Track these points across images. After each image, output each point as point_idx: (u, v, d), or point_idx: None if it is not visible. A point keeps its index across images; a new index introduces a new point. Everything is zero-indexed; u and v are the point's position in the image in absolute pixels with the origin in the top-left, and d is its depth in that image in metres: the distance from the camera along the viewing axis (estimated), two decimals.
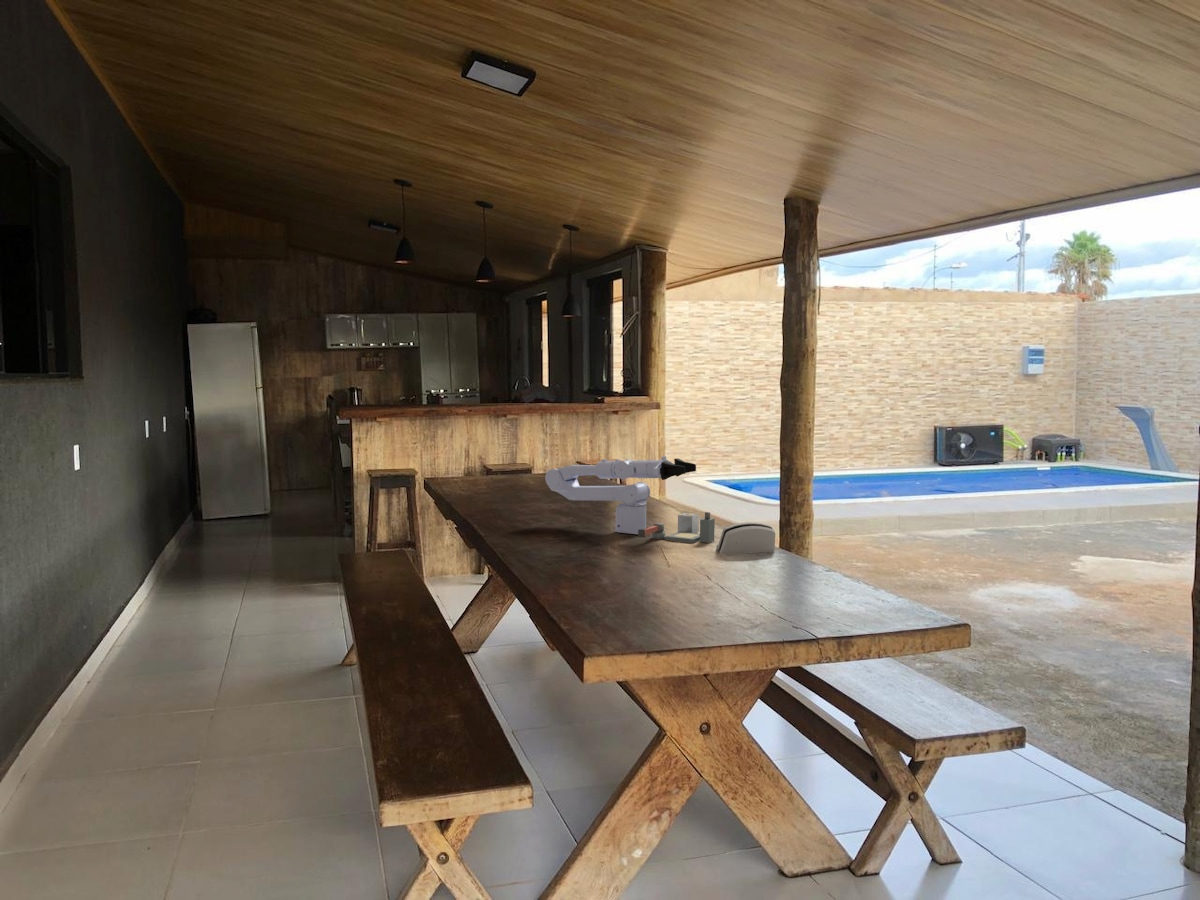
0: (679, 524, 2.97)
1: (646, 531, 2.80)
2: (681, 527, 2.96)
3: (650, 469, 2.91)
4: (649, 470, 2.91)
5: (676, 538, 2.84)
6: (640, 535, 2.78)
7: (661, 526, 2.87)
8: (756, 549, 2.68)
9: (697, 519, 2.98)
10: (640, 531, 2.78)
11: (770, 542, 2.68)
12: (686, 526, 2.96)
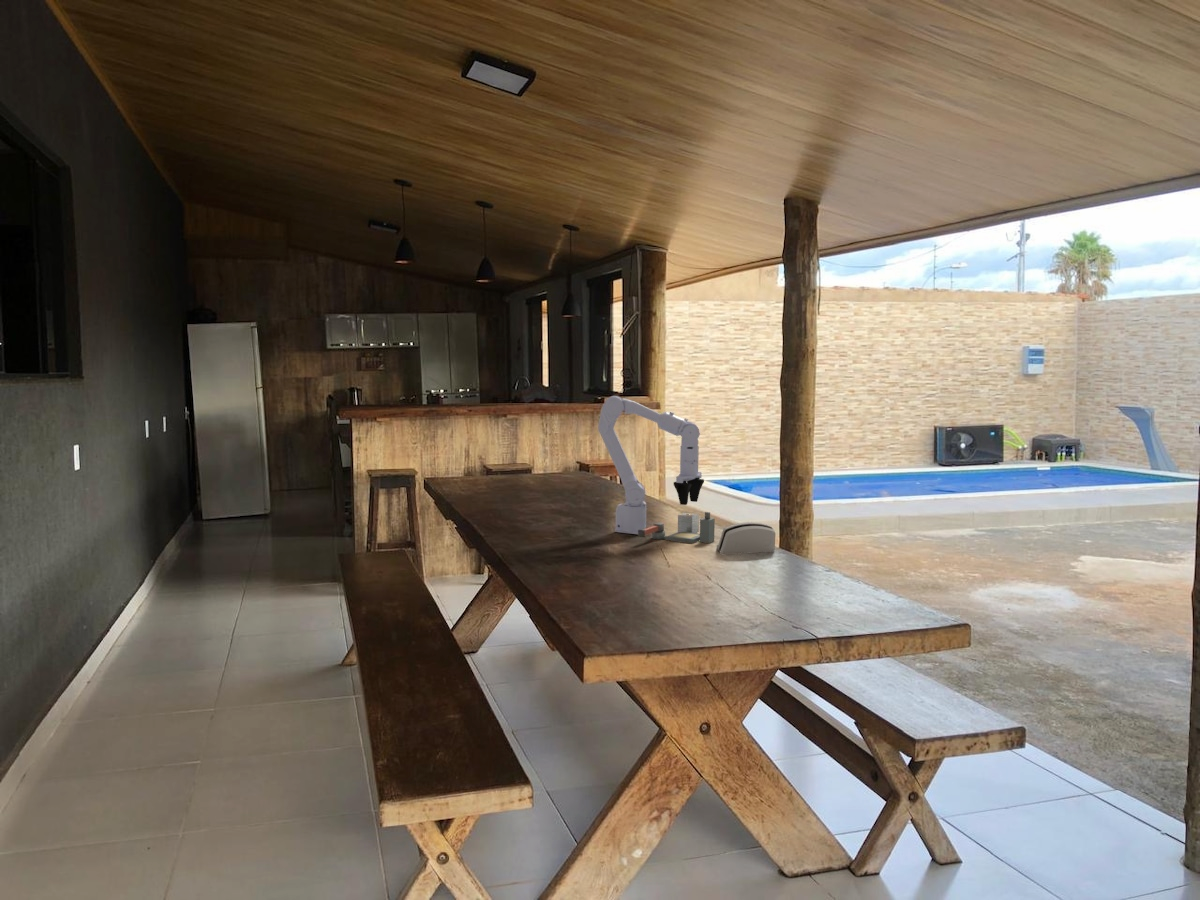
0: (679, 524, 2.97)
1: (646, 531, 2.80)
2: (681, 527, 2.96)
3: (686, 465, 2.94)
4: (685, 464, 2.94)
5: (676, 538, 2.84)
6: (640, 535, 2.78)
7: (661, 526, 2.87)
8: (756, 549, 2.68)
9: (697, 519, 2.98)
10: (640, 531, 2.78)
11: (770, 542, 2.68)
12: (686, 526, 2.96)
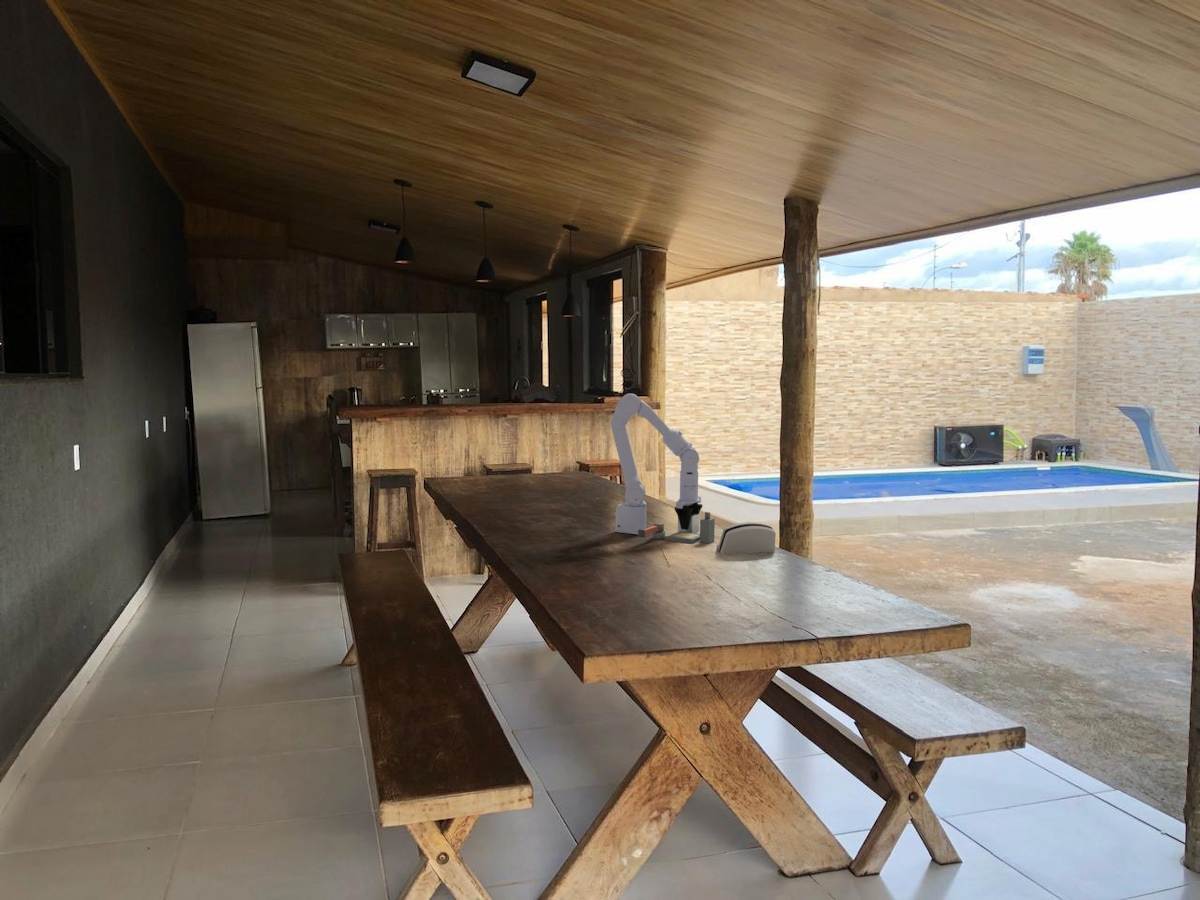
0: (679, 523, 2.97)
1: (646, 531, 2.80)
2: None
3: (685, 490, 2.94)
4: (684, 489, 2.94)
5: (676, 538, 2.84)
6: (640, 535, 2.78)
7: (661, 526, 2.87)
8: (756, 549, 2.68)
9: (697, 519, 2.98)
10: (640, 531, 2.78)
11: (770, 542, 2.68)
12: None
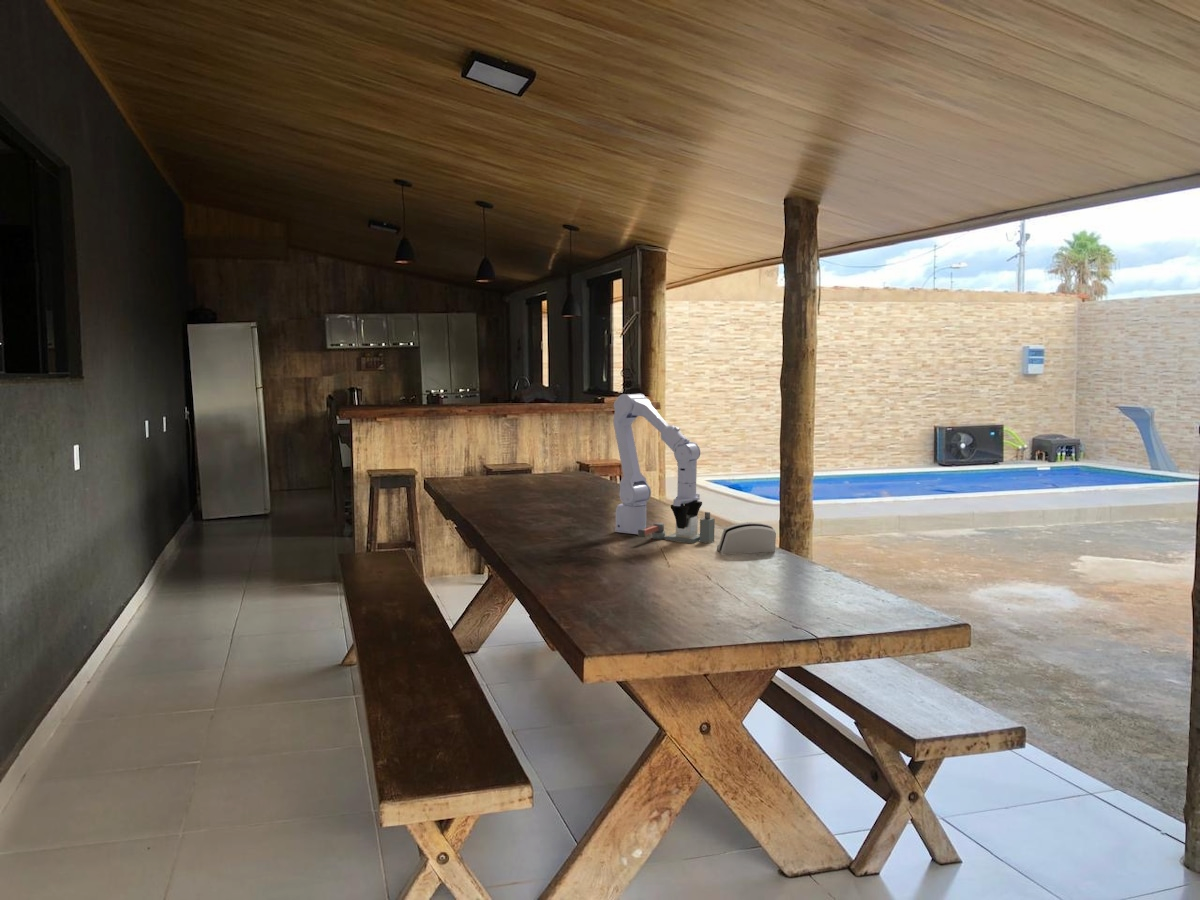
0: None
1: (646, 531, 2.80)
2: (680, 529, 2.86)
3: (683, 487, 2.84)
4: (682, 486, 2.84)
5: (676, 538, 2.84)
6: (640, 535, 2.78)
7: (661, 526, 2.87)
8: (756, 549, 2.68)
9: (696, 521, 2.87)
10: (640, 531, 2.78)
11: (771, 542, 2.68)
12: (684, 528, 2.85)
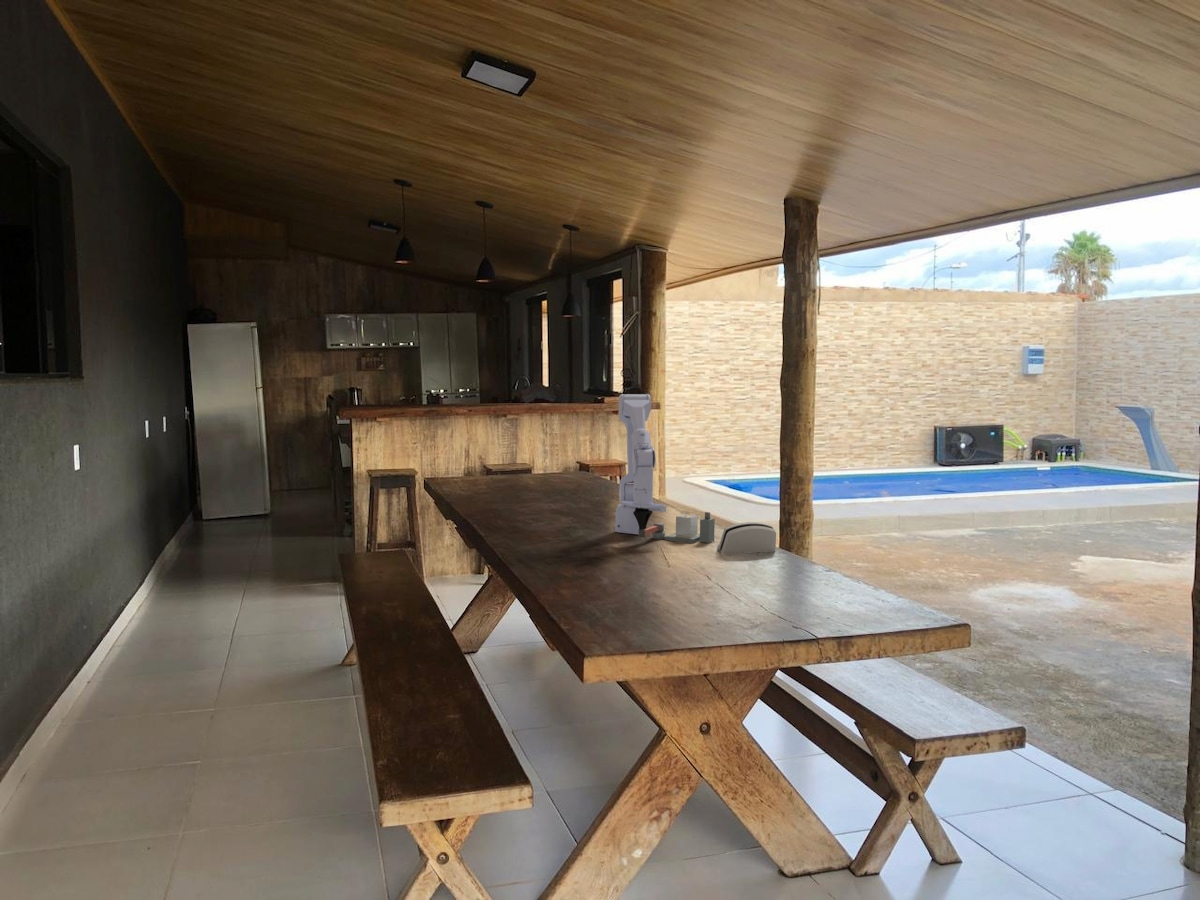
0: (677, 526, 2.86)
1: (646, 531, 2.80)
2: (680, 529, 2.86)
3: None
4: None
5: (676, 538, 2.84)
6: (641, 535, 2.78)
7: (661, 526, 2.87)
8: (757, 549, 2.68)
9: (696, 521, 2.87)
10: (641, 531, 2.78)
11: (771, 542, 2.69)
12: (684, 528, 2.85)
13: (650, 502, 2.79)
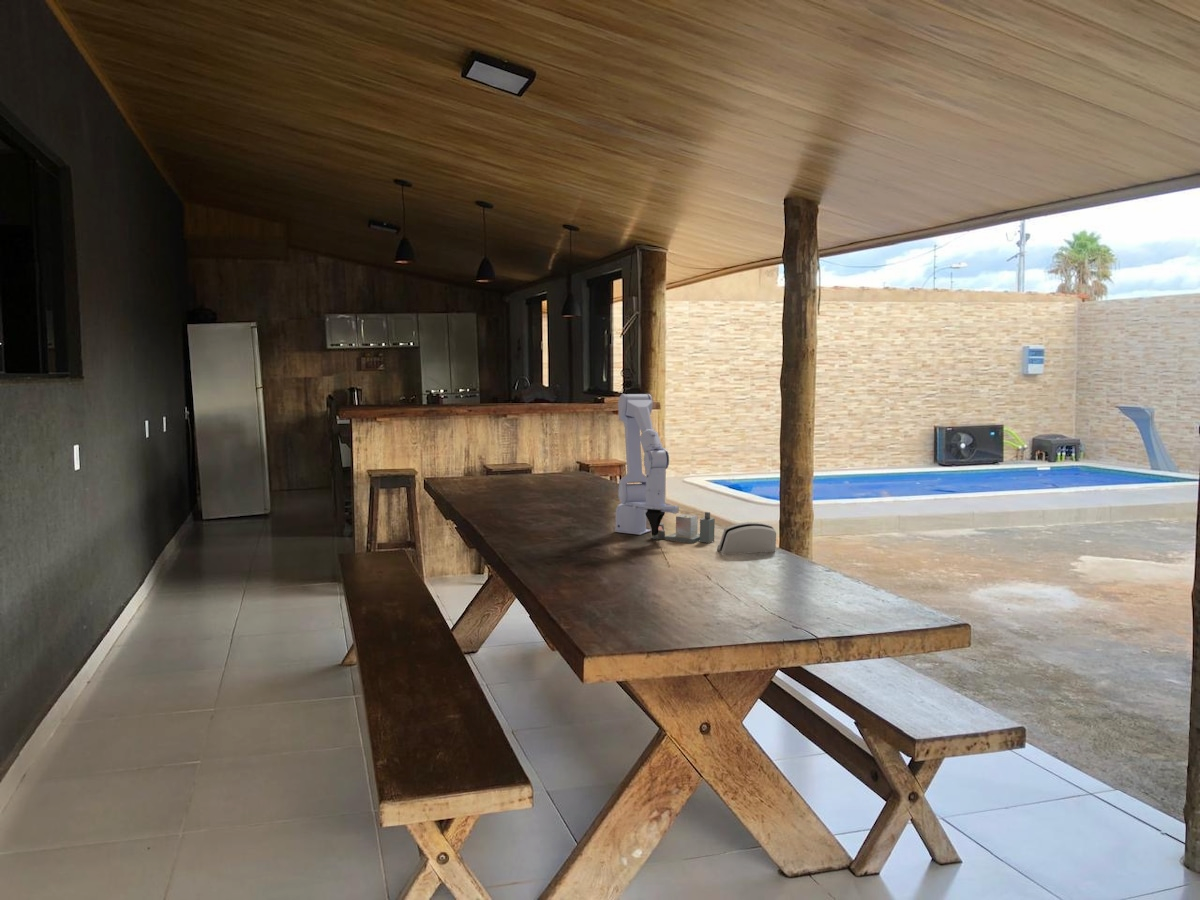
0: (677, 526, 2.86)
1: None
2: (680, 529, 2.86)
3: None
4: None
5: (676, 538, 2.84)
6: (662, 536, 2.77)
7: (663, 526, 2.88)
8: (757, 549, 2.68)
9: (696, 521, 2.87)
10: (662, 532, 2.77)
11: (771, 542, 2.69)
12: (684, 528, 2.85)
13: (662, 503, 2.78)
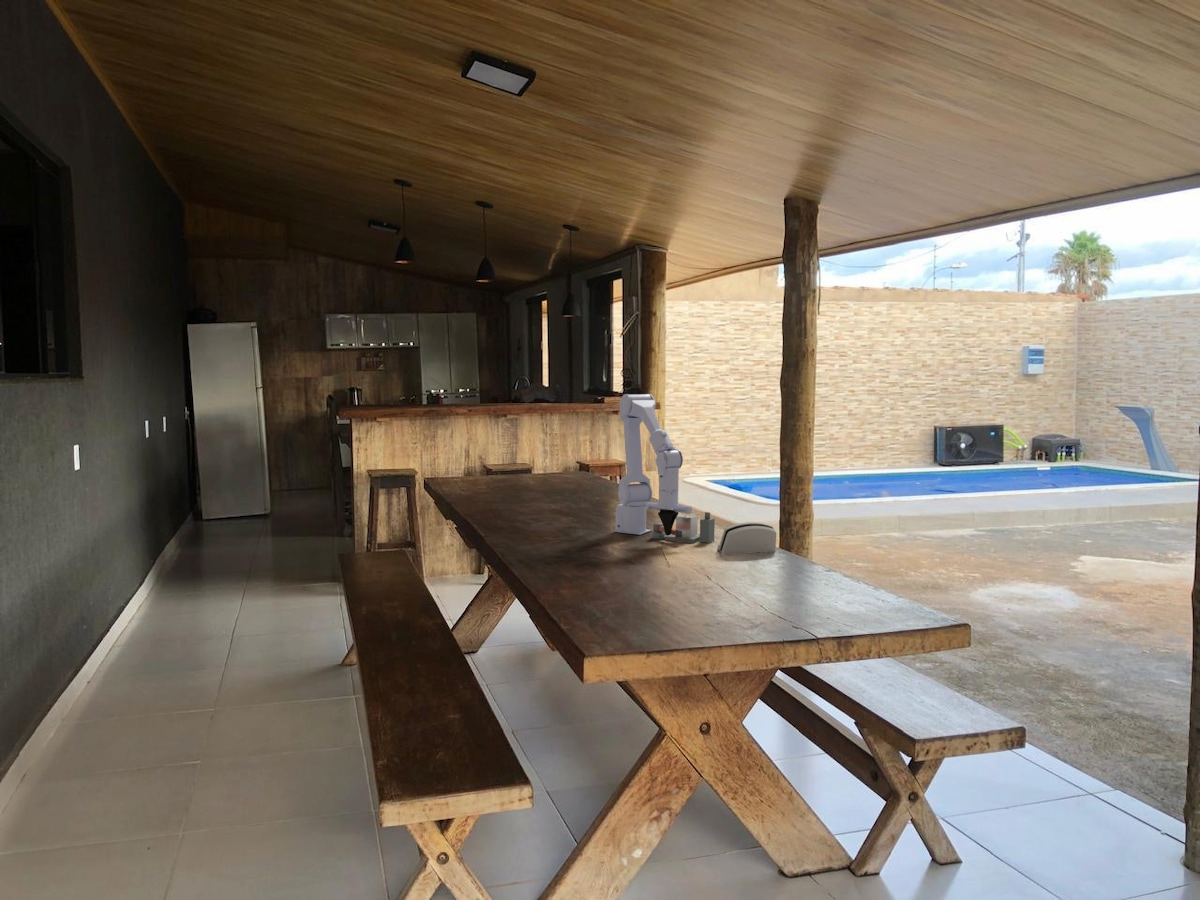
0: (677, 526, 2.86)
1: None
2: (680, 529, 2.86)
3: None
4: None
5: (676, 538, 2.84)
6: (681, 535, 2.78)
7: None
8: (757, 549, 2.68)
9: (696, 521, 2.87)
10: (681, 531, 2.78)
11: (771, 542, 2.69)
12: (684, 528, 2.85)
13: (676, 503, 2.77)
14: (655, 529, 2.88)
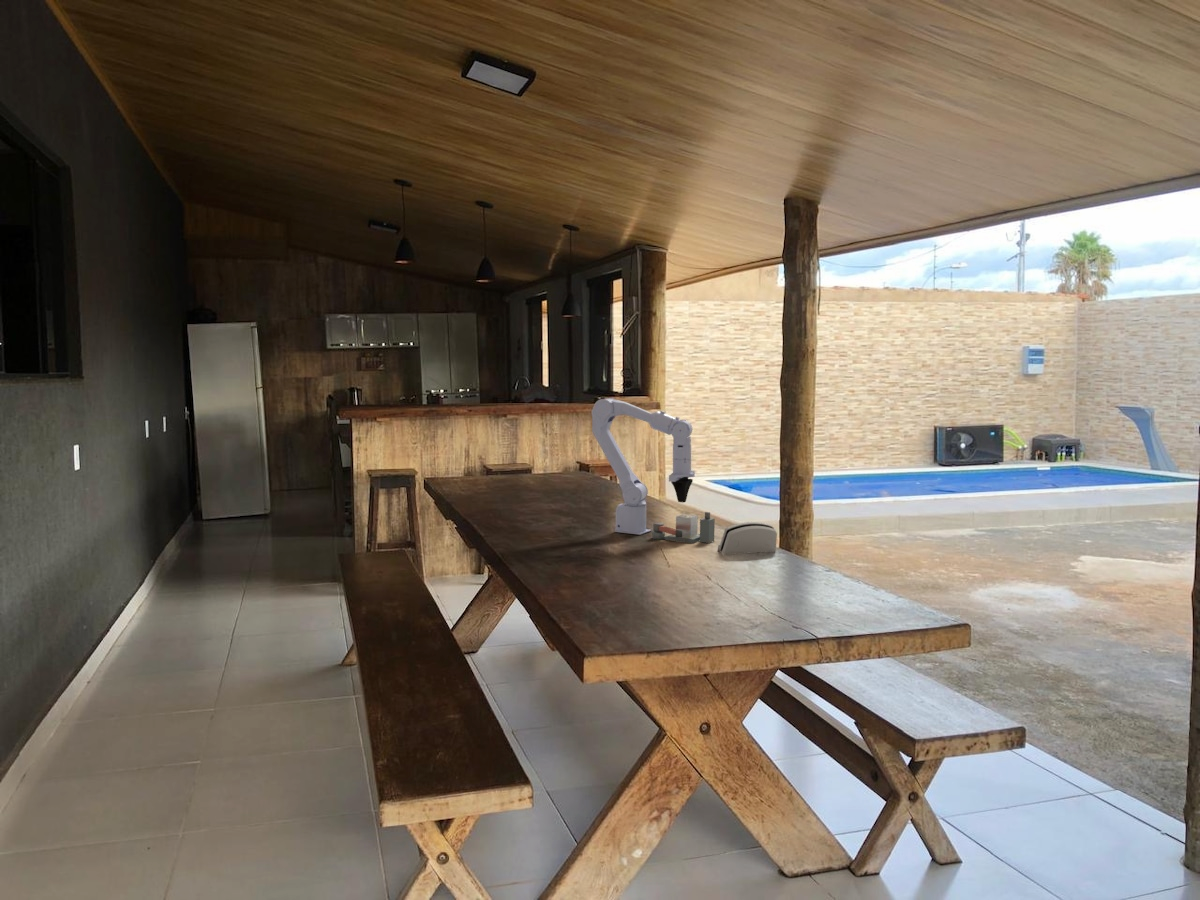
0: (677, 526, 2.86)
1: None
2: (680, 529, 2.86)
3: (678, 463, 2.90)
4: (677, 462, 2.91)
5: (676, 538, 2.84)
6: (681, 535, 2.78)
7: (663, 525, 2.89)
8: (757, 549, 2.68)
9: (696, 521, 2.87)
10: (681, 531, 2.78)
11: (772, 542, 2.69)
12: (684, 528, 2.85)
13: None
14: (655, 529, 2.88)
